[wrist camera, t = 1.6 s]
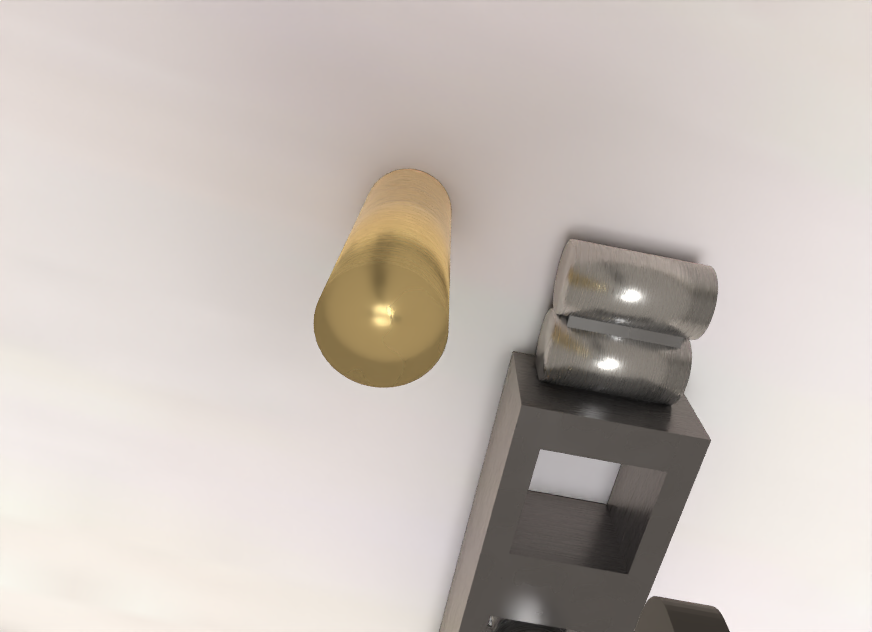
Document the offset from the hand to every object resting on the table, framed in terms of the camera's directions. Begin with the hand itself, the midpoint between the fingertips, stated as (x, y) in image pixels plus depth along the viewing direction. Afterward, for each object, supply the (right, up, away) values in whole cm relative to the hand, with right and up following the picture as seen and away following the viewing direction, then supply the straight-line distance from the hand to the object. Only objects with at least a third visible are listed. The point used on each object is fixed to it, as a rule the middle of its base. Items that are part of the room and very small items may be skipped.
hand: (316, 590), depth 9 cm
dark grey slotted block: (+6, -5, +22) cm, 23 cm away
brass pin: (+1, +7, +16) cm, 18 cm away
